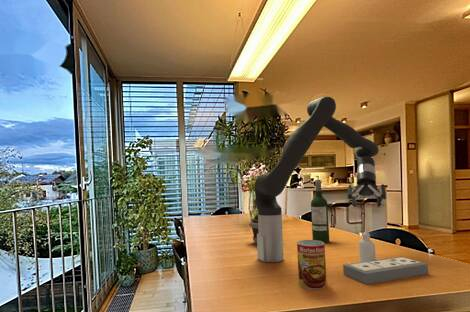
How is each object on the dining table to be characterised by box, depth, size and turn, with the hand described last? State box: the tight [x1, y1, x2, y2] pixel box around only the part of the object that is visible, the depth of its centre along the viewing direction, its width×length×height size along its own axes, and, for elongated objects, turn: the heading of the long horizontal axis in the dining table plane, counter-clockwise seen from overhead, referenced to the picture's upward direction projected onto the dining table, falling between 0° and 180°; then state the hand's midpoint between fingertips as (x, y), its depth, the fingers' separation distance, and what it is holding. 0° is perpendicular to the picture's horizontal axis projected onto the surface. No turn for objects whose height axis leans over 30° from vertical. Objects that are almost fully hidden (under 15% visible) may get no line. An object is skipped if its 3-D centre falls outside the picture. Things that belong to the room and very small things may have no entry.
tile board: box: [342, 256, 429, 285], centre depth 96 cm, size 24×10×3 cm, turn 108°
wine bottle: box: [310, 179, 330, 244], centre depth 148 cm, size 8×8×30 cm
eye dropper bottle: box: [358, 229, 377, 263], centre depth 107 cm, size 4×6×12 cm
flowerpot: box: [248, 212, 259, 245], centre depth 147 cm, size 14×15×20 cm
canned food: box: [296, 239, 328, 290], centre depth 89 cm, size 8×8×12 cm
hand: (366, 206), depth 119 cm, fingers open, 8 cm apart
